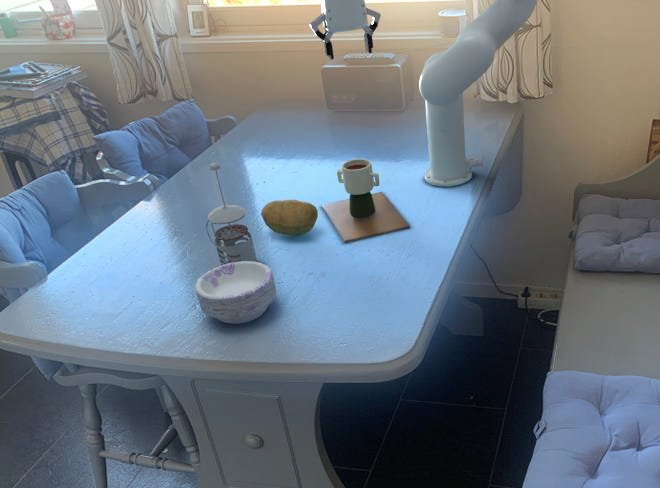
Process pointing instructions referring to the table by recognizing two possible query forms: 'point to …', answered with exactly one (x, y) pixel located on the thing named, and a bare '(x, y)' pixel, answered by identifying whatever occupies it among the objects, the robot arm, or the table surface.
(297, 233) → the potato
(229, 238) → the french press
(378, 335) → the table surface
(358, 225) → the placemat
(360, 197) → the character mug
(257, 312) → the paper bowls
